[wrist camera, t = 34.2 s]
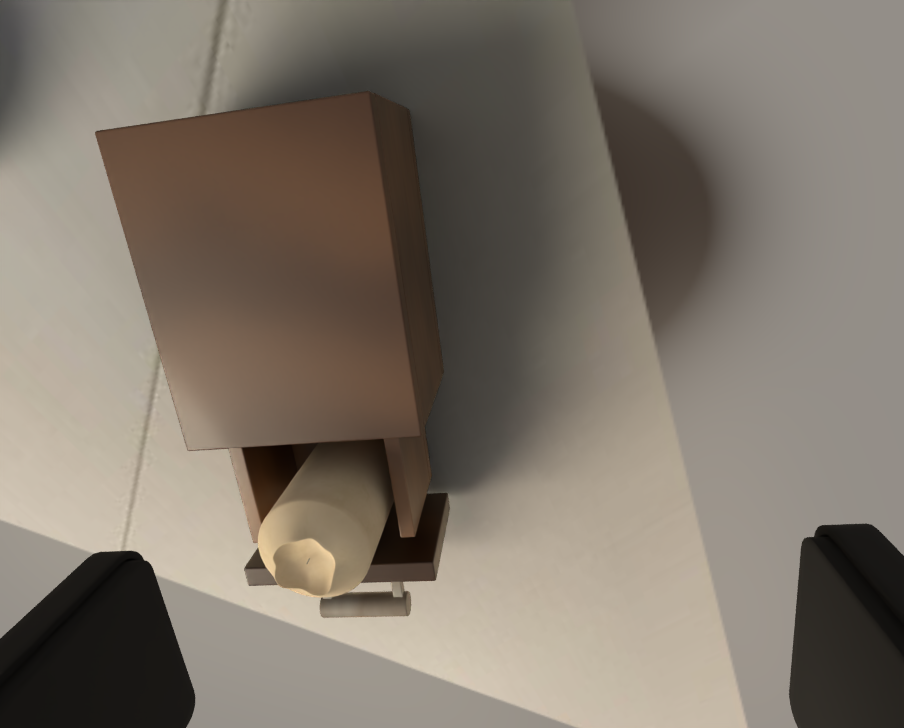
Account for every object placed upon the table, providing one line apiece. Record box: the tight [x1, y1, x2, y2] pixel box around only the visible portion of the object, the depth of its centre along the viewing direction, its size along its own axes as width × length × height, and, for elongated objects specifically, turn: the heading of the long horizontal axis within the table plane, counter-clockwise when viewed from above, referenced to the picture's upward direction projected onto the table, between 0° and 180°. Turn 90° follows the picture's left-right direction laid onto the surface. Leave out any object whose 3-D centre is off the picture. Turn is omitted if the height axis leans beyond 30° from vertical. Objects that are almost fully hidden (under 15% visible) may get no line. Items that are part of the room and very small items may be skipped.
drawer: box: [228, 428, 450, 618], centre depth 33 cm, size 18×11×7 cm, turn 7°
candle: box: [258, 439, 394, 597], centre depth 31 cm, size 6×6×10 cm
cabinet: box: [95, 91, 444, 451], centre depth 30 cm, size 15×12×9 cm
